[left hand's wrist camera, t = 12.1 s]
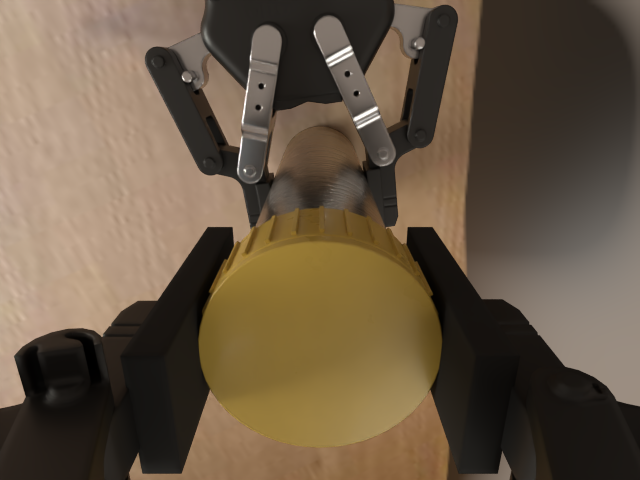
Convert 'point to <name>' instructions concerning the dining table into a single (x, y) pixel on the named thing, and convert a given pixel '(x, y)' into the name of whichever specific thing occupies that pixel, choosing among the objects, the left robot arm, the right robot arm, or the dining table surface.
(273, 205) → the bottle
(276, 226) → the lid
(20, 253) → the dining table surface
